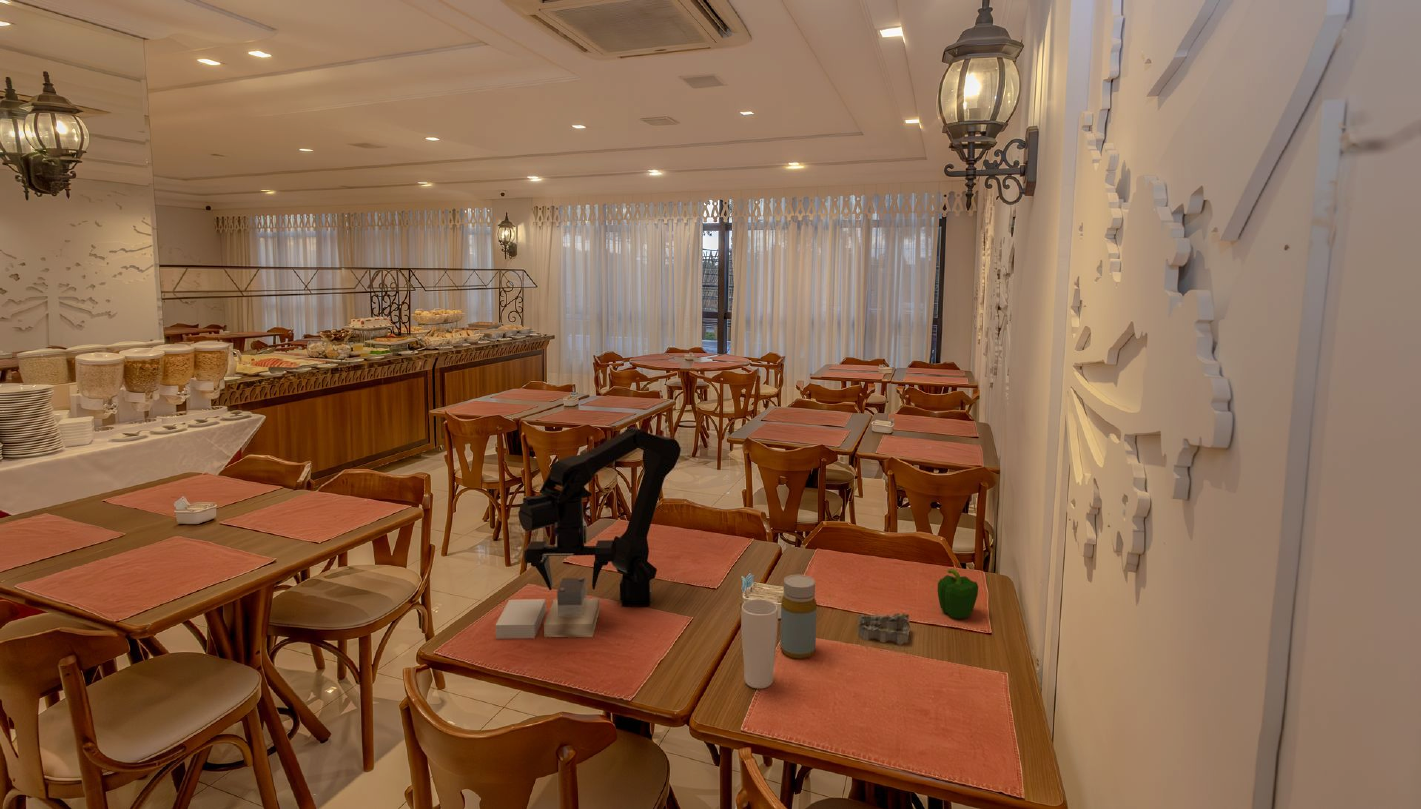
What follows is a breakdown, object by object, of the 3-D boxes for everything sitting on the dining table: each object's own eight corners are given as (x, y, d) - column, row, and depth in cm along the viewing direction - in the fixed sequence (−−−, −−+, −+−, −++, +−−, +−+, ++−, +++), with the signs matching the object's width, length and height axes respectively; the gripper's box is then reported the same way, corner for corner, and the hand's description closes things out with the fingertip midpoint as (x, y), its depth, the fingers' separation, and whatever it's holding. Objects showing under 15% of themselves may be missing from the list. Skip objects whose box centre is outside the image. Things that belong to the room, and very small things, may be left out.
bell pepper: (984, 619, 159) (987, 576, 157) (953, 625, 156) (956, 581, 154) (959, 603, 166) (962, 562, 165) (929, 608, 164) (932, 567, 162)
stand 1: (545, 611, 162) (545, 599, 161) (534, 638, 150) (534, 624, 150) (510, 612, 162) (509, 599, 161) (496, 638, 150) (495, 625, 149)
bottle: (818, 645, 147) (820, 576, 145) (811, 662, 141) (813, 590, 138) (784, 640, 149) (786, 571, 147) (776, 656, 143) (778, 585, 140)
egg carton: (910, 631, 154) (911, 613, 153) (907, 648, 147) (908, 629, 146) (860, 623, 157) (860, 606, 156) (855, 639, 150) (855, 621, 149)
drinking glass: (778, 692, 131) (779, 615, 128) (740, 692, 131) (741, 615, 128) (775, 672, 137) (777, 598, 135) (740, 671, 137) (740, 598, 135)
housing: (586, 603, 159) (585, 576, 158) (581, 618, 152) (581, 590, 151) (563, 603, 159) (562, 576, 158) (558, 618, 152) (557, 590, 151)
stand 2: (599, 610, 162) (599, 598, 162) (592, 637, 151) (592, 623, 150) (554, 611, 162) (554, 599, 162) (544, 637, 150) (543, 624, 150)
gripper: (617, 507, 160) (619, 573, 163) (533, 508, 160) (536, 574, 163) (612, 524, 150) (614, 594, 152) (521, 525, 149) (525, 596, 152)
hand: (572, 589), depth 155 cm, fingers open, 9 cm apart
